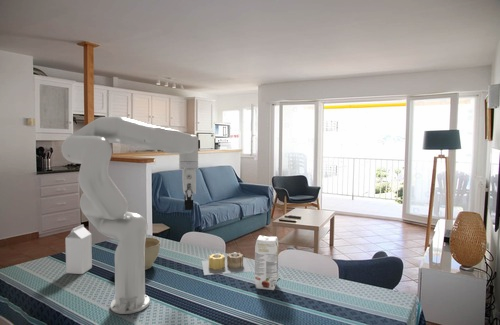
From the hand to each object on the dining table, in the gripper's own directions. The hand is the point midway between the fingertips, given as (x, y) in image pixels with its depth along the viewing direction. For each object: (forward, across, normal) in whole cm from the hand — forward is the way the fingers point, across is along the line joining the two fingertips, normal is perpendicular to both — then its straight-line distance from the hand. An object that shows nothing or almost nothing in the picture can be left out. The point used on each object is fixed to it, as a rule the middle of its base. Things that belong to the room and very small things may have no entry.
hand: (188, 207), depth 138 cm
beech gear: (+27, +3, -20) cm, 34 cm away
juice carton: (+28, -16, -29) cm, 44 cm away
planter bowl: (+28, +12, +20) cm, 37 cm away
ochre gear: (+27, +3, -12) cm, 30 cm away
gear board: (+28, +3, -16) cm, 33 cm away
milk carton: (+28, +12, +45) cm, 55 cm away
